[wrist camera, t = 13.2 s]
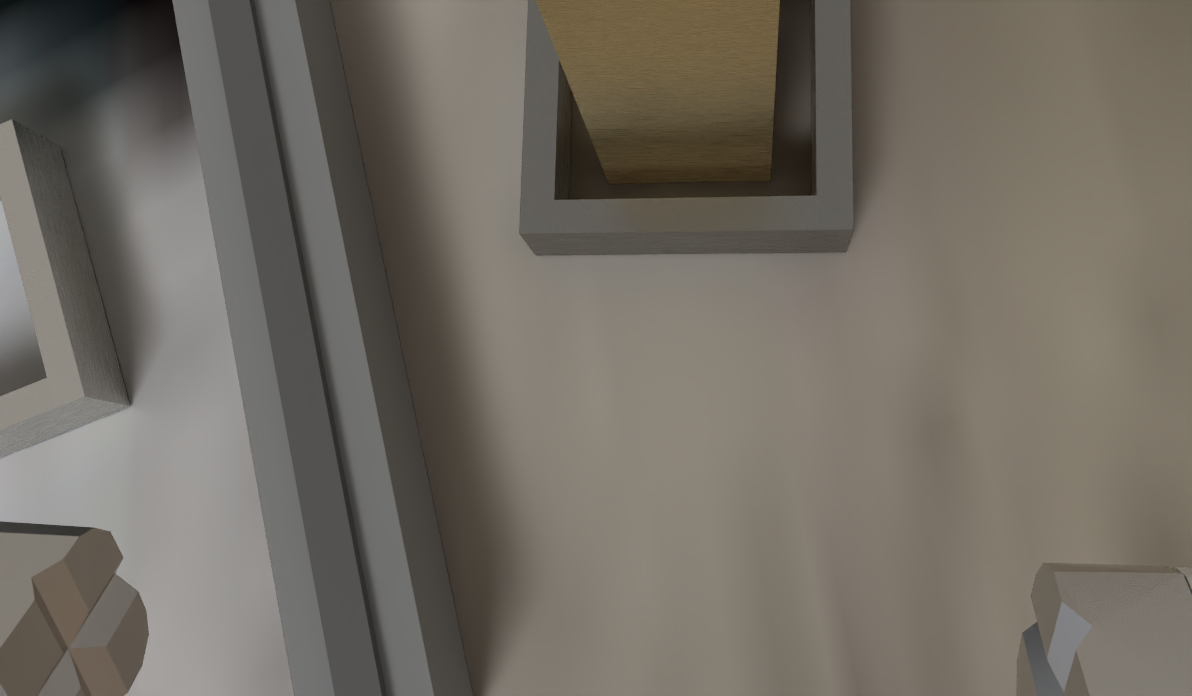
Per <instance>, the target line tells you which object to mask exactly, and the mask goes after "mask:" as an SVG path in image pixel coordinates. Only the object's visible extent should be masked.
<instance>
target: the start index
mask: <svg viewBox="0 0 1192 696" xmlns="http://www.w3.org/2000/svg"><path fill="white" fill-rule="evenodd" d="M0 200H2V204H3V208H4V212H5V216H6V220H7V224H8V228H9V231H10V235H11V239H12V243H13V247H14V251H15V255H16V259H17V263H18V267H19V270H20V274H21V278H22V282H23V286H24V290H25V294H26V298H27V302H28V306H29V310H30V313H31V317H32V321H33V325H34V329H35V333H36V337H37V341H38V345H39V349H40V352H41V356H42V360H43V364H44V368H45V372H46V376H47V378H45V379H42V380H40V381H37V382H35V383H32V384H30V385H27V386H25V387H22V388H20V389H17V390H15V391H12V392H10V393H7V394H5V395H2V396H0V458H1V457H3V456H6V455H8V454H11V453H13V452H16V451H18V450H21V449H23V448H26V447H29V446H31V445H34V444H36V443H39V442H41V441H44V440H46V439H49V438H51V437H54V436H56V435H59V434H61V433H64V432H67V431H69V430H72V429H74V428H77V427H79V426H82V425H84V424H87V423H89V422H92V421H94V420H97V419H99V418H102V417H105V416H107V415H110V414H112V413H115V412H117V411H120V410H122V409H125V408H127V407H130V403H129V399H128V396H127V392H126V388H125V385H124V381H123V377H122V374H121V370H120V366H119V363H118V359H117V355H116V352H115V348H114V344H113V341H112V337H111V333H110V329H109V326H108V322H107V318H106V315H105V311H104V307H103V304H102V300H101V296H100V293H99V289H98V285H97V282H96V278H95V274H94V271H93V267H92V263H91V259H90V256H89V252H88V248H87V245H86V241H85V237H84V234H83V230H82V226H81V223H80V219H79V215H78V212H77V208H76V204H75V201H74V197H73V193H72V190H71V186H70V182H69V178H68V175H67V171H66V167H65V164H64V160H63V156H62V153H61V149H60V146H58V145H56V144H54V143H53V142H51V141H49V140H47V139H46V138H44V137H42V136H40V135H39V134H37V133H35V132H33V131H32V130H30V129H28V128H26V127H25V126H23V125H21V124H19V123H18V122H16V121H14V120H12V119H11V120H9V121H7V122H4V123H2V124H0Z"/></svg>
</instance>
